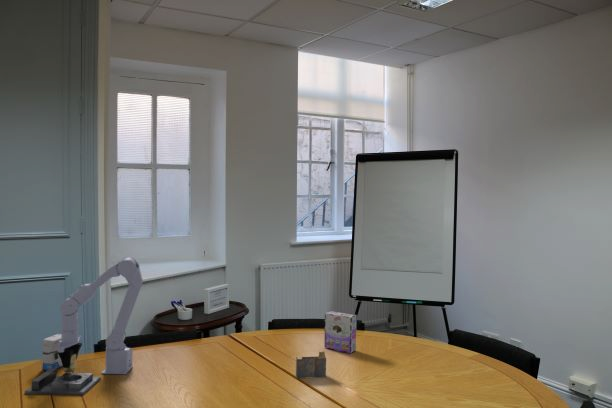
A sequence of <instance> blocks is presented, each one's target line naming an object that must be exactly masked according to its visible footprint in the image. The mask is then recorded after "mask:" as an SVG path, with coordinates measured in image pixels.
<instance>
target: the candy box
mask: <svg viewBox="0 0 612 408" xmlns="http://www.w3.org/2000/svg"><path fill="white" fill-rule="evenodd" d="M357 318H358V317H357V314H351V313H347V312H346V313H345V312H339V311H333V310H329V311H327V312H325V313H324V347H325V348H329V349H328V350H330V349H334V350H333V351H335V350H338V351H337V352H340V351H342V352H341V353H345V352H347V353H346V354H350V353H351V354H352V352H353V353H354V352H356V351H357ZM324 347H323V348H324ZM325 348H324V349H325ZM355 350H356V351H355Z"/></svg>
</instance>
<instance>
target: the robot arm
mask: <svg viewBox="0 0 612 408" xmlns="http://www.w3.org/2000/svg"><path fill="white" fill-rule="evenodd" d="M119 276H122V277H123V278H124V279H125V280H126V282H127V283H128V287H127V290H126V293H125V295H124V298H123V301H122V304H121V306H120V309H119V312H118V314H117V318H116V320H115V324H114V326H113V328H112V329H111V330H110V331H109V333H108V336H107V337H106V340H105V346H106V347H105V368H104V369H103V370H102V371H101V374H102V375H104V374H105V375H126V374H128V372H129V371H130V370H131V369H133V367H134V366H133V348H131V347H128V346H127V345H126V344H125V342H124V341H125V340H126V335H127V334H126V329H127V326H128V324H129V321H130V320H131V319H130V318H131V315H132V313H133V310H134V307H135V304H136V301H137V299H138V297H139V293H140V291H141V288H142V285H143V282H144V280H143V276H142V272H141V269H140V264H139V263H138V262H137V260H136V259H135V258H134V257H132V256H125V257H123V258H122V259H121V260H120V261H117V262H116V263H114V264H113V265H111V266H109V267H108V269H106V270H104V272H103V273H102V274H100V275H98V277H97V278H95V279H94V280H93V281H92V282H91V283H84V284H81V285H79V286H78V289H76V290H75V291H74V292H73V293H70V294H69V295H68V297H67V298H66V299H64V300H63V301H62V302H61V304H60V307H59V310H60V312H61V333H60V334H61V341H59V342H58V343H59V344H60V345H59V347H58V350H57V353H58V355H59V356H60V358H61V361H62V365H63V366H62V368H69V367H70V363H71V356H72V353H76V361H77V359H78V355H79V352H80V350H81V348H82V346H83V343H82V342H81V341H82V335H79V309H80V307H82V306H84V305H85V304H86V303H88V302H89V301H90V300H91V299H93V298H94V297H95V296H96V294H97V293H96V292H97V290H98V289H99V288H101V286H103V285H104V284H105V283H106V282H108V281H110V279H112V278H115V277H116V278H117V277H119Z"/></svg>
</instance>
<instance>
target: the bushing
mask: <svg viewBox="0 0 612 408" xmlns="http://www.w3.org/2000/svg"><path fill="white" fill-rule="evenodd" d="M62 368H63V367H62ZM75 371H77V360H76V353H72V356H71V363H70V367H69V368H63V369H62V372H63V373H74V372H75Z"/></svg>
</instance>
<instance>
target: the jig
mask: <svg viewBox="0 0 612 408" xmlns="http://www.w3.org/2000/svg"><path fill="white" fill-rule="evenodd" d="M57 371H58V368H57V369H49V370H45V372H43V373H42V374H40V375H38V376H37V377H36V378H34V379H33V380H31V386H30V387H28V388H26V389H25V391H24V395H52V396H53V395H56V396H57V395H61V396H63V395H65V396H67V395H69V396H84V395H85V394H86V393H88V392H89V391H90V390H91V389H92V388H93V387H94V386H95V385H96V384H97V383H98V382H99V381H100V380H101V376H94V373H93V372H64V374H62V375H57Z"/></svg>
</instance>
